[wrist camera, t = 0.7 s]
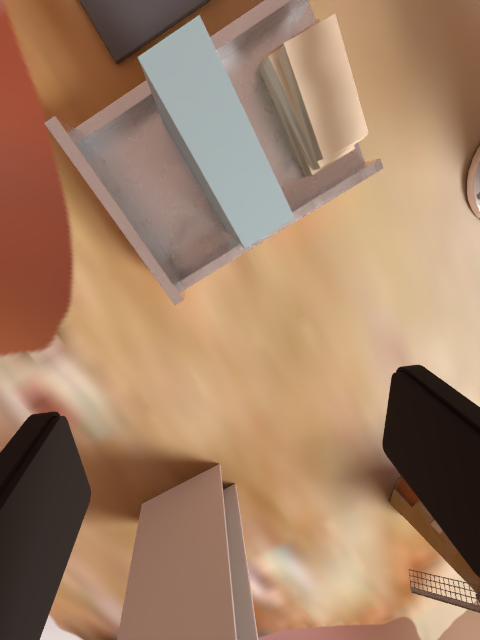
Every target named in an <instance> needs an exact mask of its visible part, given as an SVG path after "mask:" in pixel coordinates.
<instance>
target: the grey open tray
mask: <svg viewBox="0 0 480 640" xmlns="http://www.w3.org/2000/svg"><path fill="white" fill-rule="evenodd" d="M309 1H310V0H264V1H263V2H261V3H260V4H258V5H257V6H255V7H254V8H252V9H251V10H249V11H248V12H246V13H245V14H243V15H242V16H240V17H239V18H237V19H236V20H235V21H233V22H232V23H230V24H229V25H227V26H226V27H224V28H223V29H221V30H220V31H218V32H217V33H215V34H214V35H212V36H211V37H210V38H211V40H212V42H213V44H214V47H215V49H216V51H217V53H218V55H219V57H220V59H221V62H222V64H223V66H224V68H225V70H226V72H227V74H228V76H229V79H230V81H231V83H232V85H233V87H234V89H235V91H236V93H237V96H238V98H239V100H240V102H241V104H242V106H243V108H244V111H245V113H246V115H247V117H248V119H249V121H250V123H251V125H252V128H253V130H254V132H255V134H256V136H257V138H258V140H259V142H260V145H261V147H262V149H263V151H264V153H265V155H266V157H267V160H268V162H269V164H270V166H271V168H272V170H273V172H274V174H275V177H276V179H277V181H278V183H279V185H280V187H281V189H282V191H283V194H284V196H285V198H286V200H287V202H288V204H289V206H290V209H291V211H292V213H293V215H294V217H295V218H294V219H293V220H291V221H290V222H288V223H286V224H285V225H283V226H281V227H280V228H278V229H276V230H275V231H273V232H272V233H270V234H268V235H267V236H265V237H263V238H262V239H260V240H258V241H257V242H255V243H254V244H252V245H250V246H249V247H247V248H243V247H242V246H241V245H240V244H239V243H238V242H237V241H236V240H235V239H234V238H232V237H231V236H230V235H229V234H228V233H227V232H226V231H225V229H224V227H223V226H222V224H221V222H220V220H219V219H218V217H217V215H216V213H215V212H214V210H213V208H212V206H211V205H210V203H209V201H208V199H207V198H206V196H205V194H204V192H203V191H202V189H201V187H200V185H199V184H198V182H197V180H196V178H195V177H194V175H193V173H192V172H191V170H190V168H189V166H188V165H187V163H186V161H185V159H184V158H183V156H182V154H181V152H180V151H179V149H178V147H177V145H176V144H175V142H174V140H173V138H172V137H171V135H170V133H169V131H168V130H167V128H166V126H165V124H164V123H163V121H162V118H161V116H160V113H159V110H158V108H157V105H156V103H155V100H154V98H153V95H152V93H151V90H150V88H149V85H148V83H147V80H146V81H144V82H143V83H141V84H140V85H138V86H137V87H135V88H134V89H132V90H131V91H129V92H128V93H126V94H125V95H123V96H122V97H120V98H119V99H117V100H116V101H114V102H113V103H111V104H110V105H108V106H107V107H105V108H104V109H102V110H101V111H100V112H98V113H97V114H95V115H94V116H92V117H91V118H89V119H88V120H86V121H85V122H83V123H82V124H80V125H79V126H77V127H76V128H74V127H72V126H71V125H69V124H67V123H66V122H64V121H63V120H61V119H59V118H58V117H56V116H54V117H52V118H51V119H49V120H48V121H46V122H45V123H44V124H45V125H46V127H47V128H48V129H49V131H50V132H51V133H52V135H53V136H54V138H55V139H56V140H57V142H58V143H59V145H60V146H61V147H62V149H63V150H64V152H65V153H66V154H67V156H68V157H69V159H70V160H71V161H72V163H73V164H74V166H75V167H76V168H77V170H78V171H79V172H80V174H81V175H82V177H83V178H84V179H85V181H86V182H87V184H88V185H89V186H90V188H91V189H92V191H93V192H94V193H95V195H96V196H97V198H98V199H99V200H100V202H101V203H102V205H103V206H104V207H105V209H106V210H107V212H108V213H109V214H110V216H111V217H112V218H113V220H114V221H115V223H116V224H117V225H118V227H119V228H120V230H121V231H122V232H123V234H124V235H125V237H126V238H127V239H128V241H129V242H130V244H131V245H132V246H133V248H134V249H135V251H136V252H137V253H138V255H139V256H140V257H141V259H142V260H143V262H144V263H145V264H146V266H147V267H148V269H149V270H150V271H151V273H152V274H153V276H154V277H155V278H156V280H157V281H158V283H159V284H160V285H161V287H162V288H163V290H164V291H165V292H166V294H167V295H168V296H169V298H170V299H171V301H172V302H173V303H174V305H176V304H178V303H180V302H181V301H183V300H184V294H185V289H186V288H188V287H189V286H191V285H193V284H194V283H196V282H198V281H199V280H201V279H203V278H204V277H206V276H207V275H209V274H211V273H212V272H214V271H216V270H217V269H219V268H221V267H222V266H224V265H225V264H227V263H229V262H230V261H232V260H234V259H235V258H237V257H239V256H240V255H242V254H244V253H245V252H247V251H248V250H250V249H252V248H253V247H255V246H257V245H258V244H260V243H262V242H263V241H265V240H266V239H268V238H270V237H271V236H273V235H275V234H276V233H278V232H280V231H281V230H283V229H284V228H286V227H288V226H289V225H291V224H293V223H294V222H296V221H298V220H299V219H301V218H302V217H304V216H306V215H307V214H309V213H311V212H312V211H314V210H316V209H317V208H319V207H321V206H322V205H324V204H325V203H327V202H329V201H330V200H332V199H334V198H335V197H337V196H339V195H340V194H342V193H343V192H345V191H347V190H348V189H350V188H352V187H353V186H355V185H357V184H358V183H360V182H361V181H363V180H365V179H366V178H368V177H370V176H371V175H373V174H375V173H376V172H378V171H379V170H381V169H383V166H382V163H381V160H380V159H376V160H372V161H368V162H364V159H363V156H362V153H361V150H360V147H359V144H358V143H356V144H355V145H354V147H355V149H354V150H352V151H351V152H349V153H347V154H346V155H344V156H343V157H341V158H339V159H338V160H336V161H335V162H333V163H331V164H330V165H328V166H326V167H325V168H323V169H322V170H320V171H318V172H317V173H315V174H314V175H311V176H307V177H306V176H305V174H304V172H303V169H302V167H301V165H300V162H299V160H298V158H297V155H296V153H295V151H294V148H293V146H292V144H291V141H290V139H289V137H288V134H287V132H286V130H285V127H284V125H283V123H282V120H281V118H280V116H279V113H278V111H277V109H276V106H275V104H274V102H273V100H272V97H271V95H270V93H269V90H268V88H267V86H266V83H265V81H264V79H263V76H262V74H261V72H260V69H259V67H258V66H259V64H260V61H261V59H262V57H263V56H265V55H266V54H268V53H269V52H271V51H272V50H274V49H275V48H277V47H278V46H280V45H281V44H283V43H285V42H286V41H288V40H289V39H291V38H292V37H294V36H295V35H297V34H298V33H300V32H301V31H303V30H304V29H306V28H307V27H308V26H310V25H311V24H312V23H314V22H315V18H314V15H313V12H312V10H311V7H310V4H309Z"/></svg>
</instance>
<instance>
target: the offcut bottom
mask: <svg viewBox="0 0 480 640" xmlns="http://www.w3.org/2000/svg"><path fill="white" fill-rule="evenodd" d="M301 32H302V31H301ZM298 34H299V33H298ZM298 34H297V35H298ZM295 36H296V35H295ZM295 36H294V37H295ZM292 38H293V37H292ZM292 38H291V39H292ZM289 40H290V39H289ZM282 45H283V44H281V45H280V46H278V47H277V48H275V49H274V50H272V51H271V52H269V53H268V54H266V55H265V56H263V57H262V59H261V61H260V64H259V66H258V67H259V69H260V72H261V74H262V76H263V79H264V81H265V83H266V86H267V88H268V90H269V93H270V95H271V97H272V100H273V102H274V104H275V106H276V109H277V111H278V113H279V116H280V118H281V120H282V123H283V125H284V127H285V130H286V132H287V134H288V137H289V139H290V141H291V144H292V146H293V148H294V151H295V153H296V155H297V158H298V160H299V162H300V165H301V167H302V169H303V172H304V174H305V176H306V177H307V176H311V175H314V174H315V173H317V172H318V171H320V170H322V169H323V168H325V167H326V166H328V165H330V164H331V163H333V162H335V161H336V160H338V159H339V158H341V157H343V156H344V155H346V154H347V153H349V152H351V151H352V150H354V149H355V147H354V145H353V146H352V147H350V148H349V149H347V150H346V151H345V152H343V153H342V154H340V155H339V156H337V157H336V158H334V159H333V160H332V161H330V162H329V163H327V164H326V165H324V166H323V167H322V168H319V169H316V170H313V169H312V167H311V165H310V163H309V161H308V159H307V157H306V154H305V152H304V150H303V148H302V146H301V144H300V142H299V140H298V138H297V136H296V134H295V131H294V129H293V127H292V125H291V123H290V121H289V119H288V117H287V115H286V113H285V111H284V108H283V106H282V104H281V102H280V100H279V98H278V96H277V94H276V92H275V90H274V88H273V86H272V83H271V81H270V79H269V77H268V75H267V73H266V71H265V69H264V67H263V66H264V64H265V62H266V60H267V58H268V56H270V55H271V54H272V53H274V52H275V51H276V50H278V49H279V48H280V47H282Z"/></svg>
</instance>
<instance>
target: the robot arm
mask: <svg viewBox="0 0 480 640" xmlns="http://www.w3.org/2000/svg"><path fill="white" fill-rule="evenodd" d="M467 196H468V201H469V204H470V206H471V209H472V211H473V212H474V213H475V215H476V216H477V217H478V218H479V219H480V146H479V147H478V149H477V151H476V153H475V155H474V157H473V159H472V162H471V165H470V169H469V173H468V179H467ZM383 449H384V452H385V454H386V455H387V457H388V458H389V460H390V461H391V462H392V464H393V465H394V466H395V468H396V469H397V470H398V472H399V473H400V474H401V476H402V477H403V478H404V480H405V481H406V482H407V484H408V485H409V486H410V488H411V489H412V490H413V492H414V493H415V494H416V496H417V497H418V498H419V500H420V501H421V502H422V504H423V505H424V506H425V508H426V509H427V510H428V512H429V513H430V514H431V516H432V517H433V518H434V520H435V521H436V522H437V524H438V525H439V526H440V528H441V529H442V530H443V532H444V533H445V534H446V536H447V537H448V538H449V540H450V541H451V542H452V544H453V545H454V546H455V548H456V549H457V550H458V552H459V553H460V554H461V556H462V557H463V558H464V560H465V561H466V562H467V564H468V565H469V566H470V568H471V569H472V570H473V572H474V573H475V574H476V575H477V576H478V577H479V578H480V407H479V406H477V405H476V404H474V403H473V402H472V401H470V400H469V399H468V398H466V397H465V396H463V395H462V394H461V393H459V392H458V391H456V390H455V389H454V388H452V387H451V386H450V385H448V384H447V383H445V382H444V381H443V380H441V379H440V378H438V377H437V376H436V375H434V374H433V373H432V372H430V371H429V370H427V369H426V368H425V367H423V366H421V365H411V366H404V367H399V368H398V369H397V371H396V373H393V375H392V378H391V386H390V393H389V400H388V407H387V414H386V421H385V428H384V435H383ZM90 497H91V490H90V486H89V483H88V480H87V477H86V474H85V471H84V468H83V465H82V462H81V459H80V456H79V453H78V450H77V447H76V444H75V441H74V438H73V435H72V432H71V430H70V427H69V424H68V421H67V419H66V417H65V416H60V414H59V413H58V412H48V413H40V414H33V415H31V416H30V417H28V419H27V420H26V421H25V422H24V424H23V425H22V426H21V427H20V429H19V430H18V431H17V432H16V434H15V435H14V436H13V437H12V439H11V440H10V441H9V443H8V444H7V445H6V446H5V448H4V449H3V450H2V451H1V453H0V640H40V637H41V634H42V631H43V629H44V626H45V623H46V620H47V618H48V615H49V612H50V610H51V607H52V604H53V601H54V599H55V596H56V593H57V590H58V588H59V585H60V582H61V579H62V577H63V574H64V571H65V568H66V566H67V563H68V560H69V557H70V555H71V552H72V549H73V546H74V543H75V541H76V538H77V535H78V532H79V530H80V527H81V524H82V521H83V519H84V516H85V513H86V510H87V508H88V505H89V502H90Z"/></svg>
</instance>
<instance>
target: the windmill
mask: <svg viewBox="0 0 480 640" xmlns="http://www.w3.org/2000/svg"><path fill="white" fill-rule="evenodd" d="M390 503H391V504H392V505H393V506H394V507H395V508H396V509H397V510H398V512H399V513H400V514H401V515H402V516H403V517H404V518H405V519H406V520H407V521H408V522H409V523H410V524H411V525H412V526H413V527H414V528H415V529H416V530H417V531H418V532H419V533H420V534H421V535H422V536H423V537H424V538H425V539H426V541H427V542H428V543H429V544H430V545H431V546H432V547H433V548H434V549H435V550H436V551H437V552H438V553H439V554H440V555H441V556H442V557H443V558H444V559H445V560H446V561H447V562H448V563H449V565H450V566H451V567H452V568H453V569H454V570H455V571H456V572H457V573H458V574H459V575H460V576H461V577H462V578H463V579H464V580H465V581H466V582H467V584H469V585H470V586H471V587H472V589H473V590H474V592H475V593H477V594H476V598H475V599H478V600H477V603H478V601H479V602H480V578H479V577H478V576H477V575H476V574H475V573H474V572H473V570H472V569H471V568H470V566H469V565H468V564H467V562H466V561H465V560H464V558H463V557H462V556H461V554H460V553H459V552H458V550H457V549H456V548H455V546H454V545H453V544H452V542H451V541H450V540H449V538H448V537H447V536H446V534H445V533H444V532H443V530H442V529H441V528H440V526H439V525H438V524H437V522H436V521H435V520H434V518H433V517H432V516H431V514H430V513H429V512H428V510H427V509H426V508H425V506H424V505H423V504H422V502H421V501H420V500H419V498H418V497H417V496H416V494H415V493H414V492H413V490H412V489H411V488H410V486H409V485H408V484H407V482H406V481H405V480H404V478H403V477H400V478H399V479H398V480H397V482H396V485H395V487H394V490H393V493H392V496H391V499H390ZM409 570H410V569H409ZM411 571H414V570H411ZM416 572H418V571H416ZM420 573H423V572H420ZM424 574H425V576H426V574H427V573H424ZM409 575H410V572H409ZM429 575H431V574H429ZM410 576H411V575H410ZM433 576H434V579H435V576H436V575H433ZM413 577H416V576H414V574H413ZM421 577H422V574H421ZM437 577H440V576H437ZM417 578H420V577H418V574H417ZM442 578H443V580H444V578H445V577H442ZM421 579H424V578H421ZM446 579H448V582H449V578H446ZM425 580H428V579H425ZM450 580H453V579H450ZM429 581H430V582H431V581H432V580H431V578H430V580H429ZM455 581H458V580H455ZM411 582H413V581H410V586H411ZM433 582H436V581H433ZM459 582H462V581H458V584H459ZM466 582H463V584H464V583H466ZM415 583H416V582H414V587H415ZM426 583H427V581H426ZM437 583H440V580H439V582H437ZM419 584H420V583H418V586H419ZM441 584H444V586H445V585H448V584H445V583H441ZM453 584H454V581H453ZM422 585H424V584H423V582H422ZM425 586H428V585H425ZM435 586H436V583H435ZM450 586H452V585H449V588H450ZM470 586H469V589H470ZM414 587H411V591H412V593H415V594H418V595H422V596H425V597H428V598H432V599H435V600H438V601H442V602H445V603H449V604H452V605H455V606H459V607H462V608H466V609H469V610H472V611H476V612H479V613H480V606H479V605H474V604H473V602H472V604H471V603H467V602H464V601H462V599H461V601H460V600H457V598H456V599H453V598H449V597H447V596H442V594H441V595H439V594H437V590H436V594H435V593H432V592H428V588H427V591H424V590H421V589H417V588H414ZM429 587H431V589H432V586H429ZM453 587H454V589H455V587H456V586H453ZM433 588H435V587H433ZM457 588H459V590H460V587H457ZM437 589H439V588H437ZM461 589H464V590H465V587H464V588H461ZM440 590H443V589H441V587H440ZM466 590H468V589H466ZM444 591H445V593H446V591H447V590H444ZM470 591H472V590H470ZM448 592H450V595H451V591H448ZM452 593H455V592H452ZM456 594H458V593H455V596H456ZM470 594H471V592H470ZM459 595H460V596H461V595H462V594H461V593H460V594H459ZM463 596H466V593H465V595H463ZM467 597H470V596H467ZM472 598H474V597H471V600H472ZM466 601H467V598H466Z"/></svg>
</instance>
